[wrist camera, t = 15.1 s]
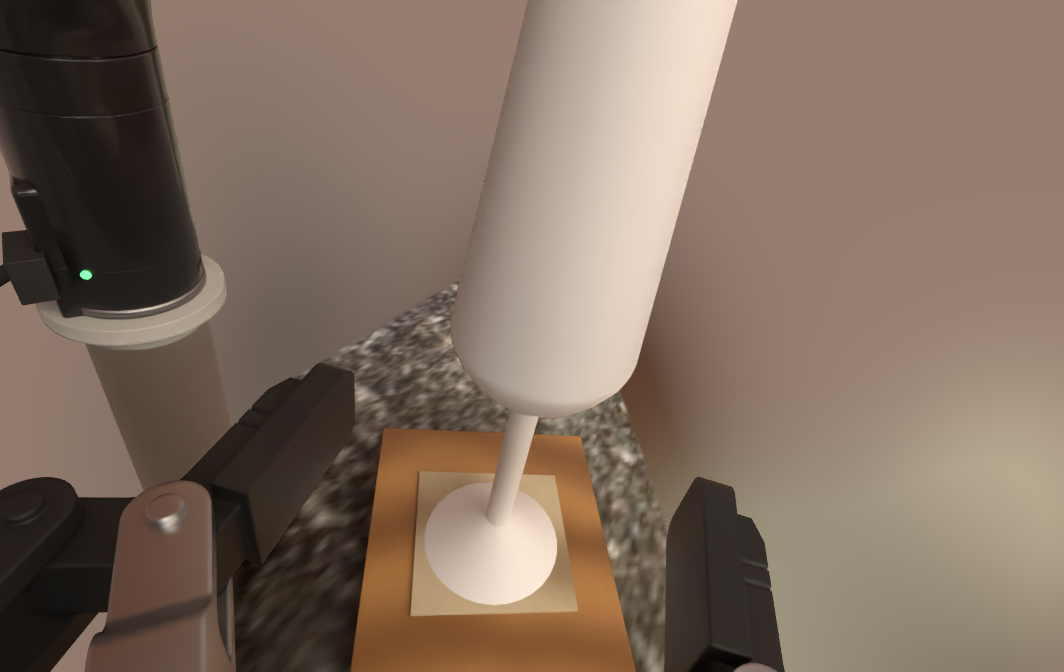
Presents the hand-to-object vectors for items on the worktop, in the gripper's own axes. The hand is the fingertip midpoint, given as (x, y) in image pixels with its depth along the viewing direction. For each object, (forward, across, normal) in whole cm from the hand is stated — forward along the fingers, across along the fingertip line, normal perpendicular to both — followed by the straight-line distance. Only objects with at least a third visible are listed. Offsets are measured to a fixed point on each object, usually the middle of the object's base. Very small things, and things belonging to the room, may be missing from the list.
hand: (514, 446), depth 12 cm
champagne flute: (+7, 0, +15) cm, 17 cm away
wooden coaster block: (+7, 0, +19) cm, 20 cm away
